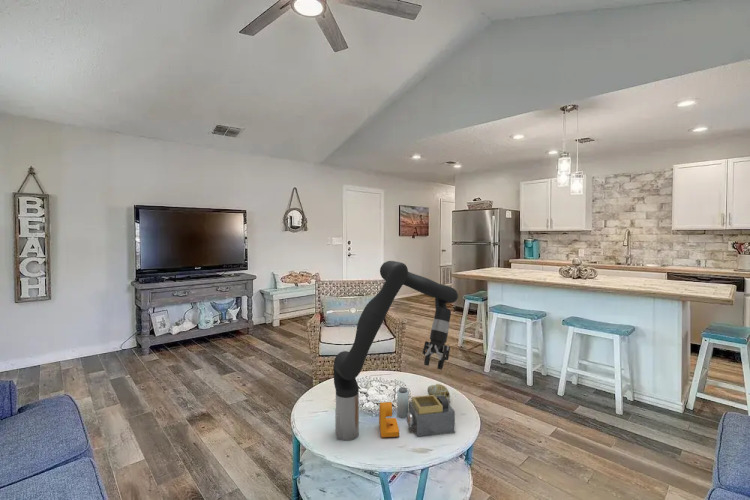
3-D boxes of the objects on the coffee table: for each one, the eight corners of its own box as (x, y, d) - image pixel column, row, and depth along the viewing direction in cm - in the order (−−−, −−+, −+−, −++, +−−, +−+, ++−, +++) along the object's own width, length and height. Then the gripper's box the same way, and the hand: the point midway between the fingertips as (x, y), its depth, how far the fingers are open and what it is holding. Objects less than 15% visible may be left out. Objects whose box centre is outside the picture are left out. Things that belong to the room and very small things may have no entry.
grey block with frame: (412, 437, 143) (412, 408, 143) (404, 423, 154) (404, 395, 153) (454, 432, 147) (454, 404, 146) (444, 418, 158) (444, 392, 157)
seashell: (454, 403, 170) (445, 385, 169) (436, 412, 171) (426, 394, 170) (449, 392, 181) (440, 375, 180) (432, 401, 181) (423, 384, 180)
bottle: (398, 418, 158) (398, 392, 157) (396, 413, 163) (396, 387, 162) (409, 417, 159) (409, 391, 158) (406, 412, 164) (406, 386, 163)
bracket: (399, 438, 143) (399, 409, 142) (381, 439, 143) (381, 409, 142) (395, 423, 154) (395, 396, 153) (379, 424, 153) (379, 397, 153)
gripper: (423, 327, 167) (416, 362, 163) (445, 330, 155) (437, 369, 151) (435, 330, 170) (428, 365, 167) (457, 334, 158) (450, 372, 155)
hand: (432, 367), depth 159 cm, fingers open, 8 cm apart
